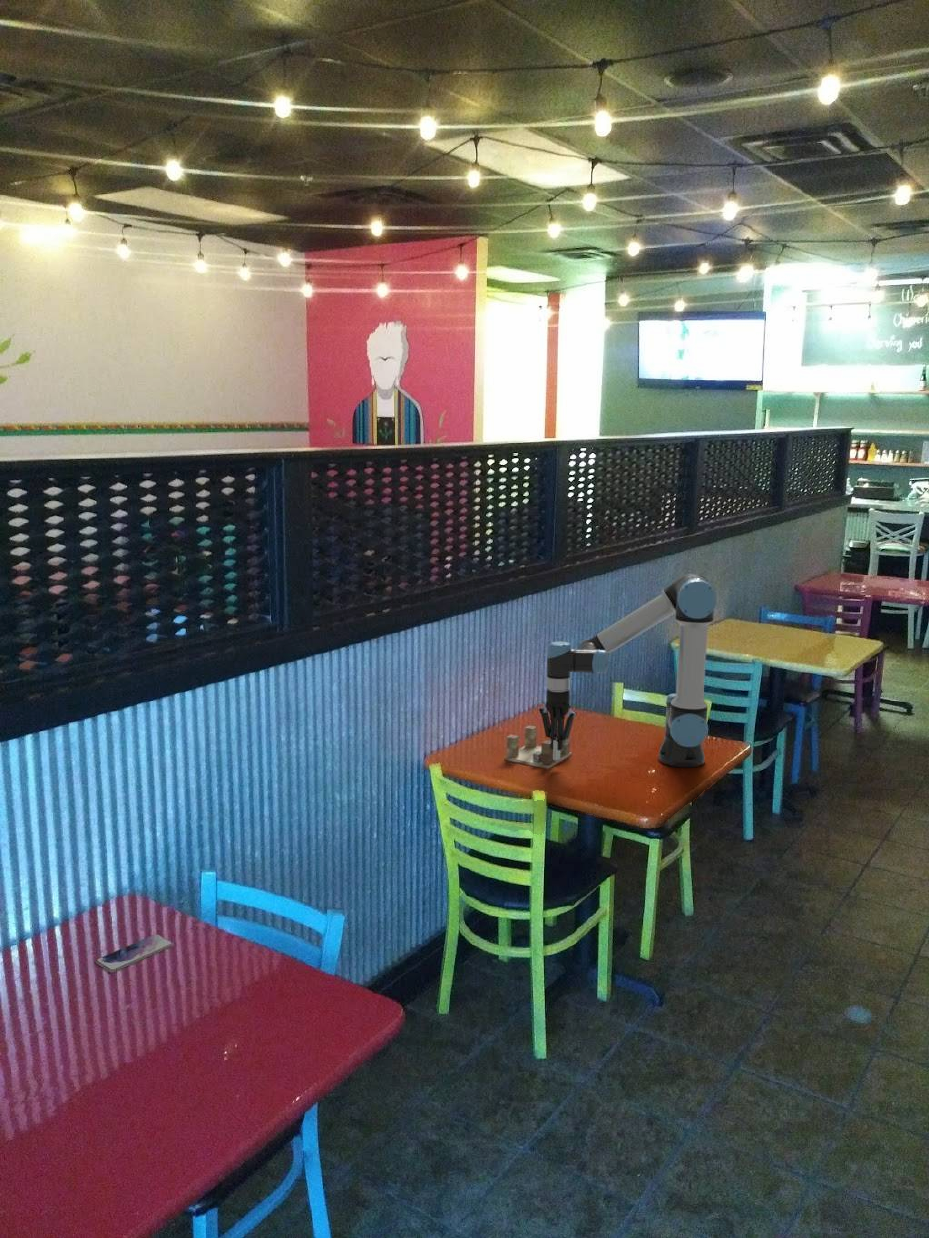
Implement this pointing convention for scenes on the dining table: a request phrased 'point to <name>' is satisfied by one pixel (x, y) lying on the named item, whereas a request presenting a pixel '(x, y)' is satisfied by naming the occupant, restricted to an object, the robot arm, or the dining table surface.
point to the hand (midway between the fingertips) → (556, 758)
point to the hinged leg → (547, 752)
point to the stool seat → (532, 750)
